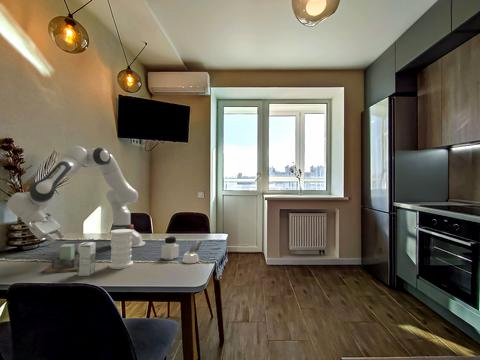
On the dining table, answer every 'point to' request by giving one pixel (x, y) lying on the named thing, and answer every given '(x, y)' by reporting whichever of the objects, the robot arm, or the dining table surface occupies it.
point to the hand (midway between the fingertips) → (58, 239)
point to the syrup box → (86, 259)
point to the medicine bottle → (170, 248)
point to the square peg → (67, 251)
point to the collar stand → (62, 265)
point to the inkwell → (192, 253)
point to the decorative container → (121, 249)
